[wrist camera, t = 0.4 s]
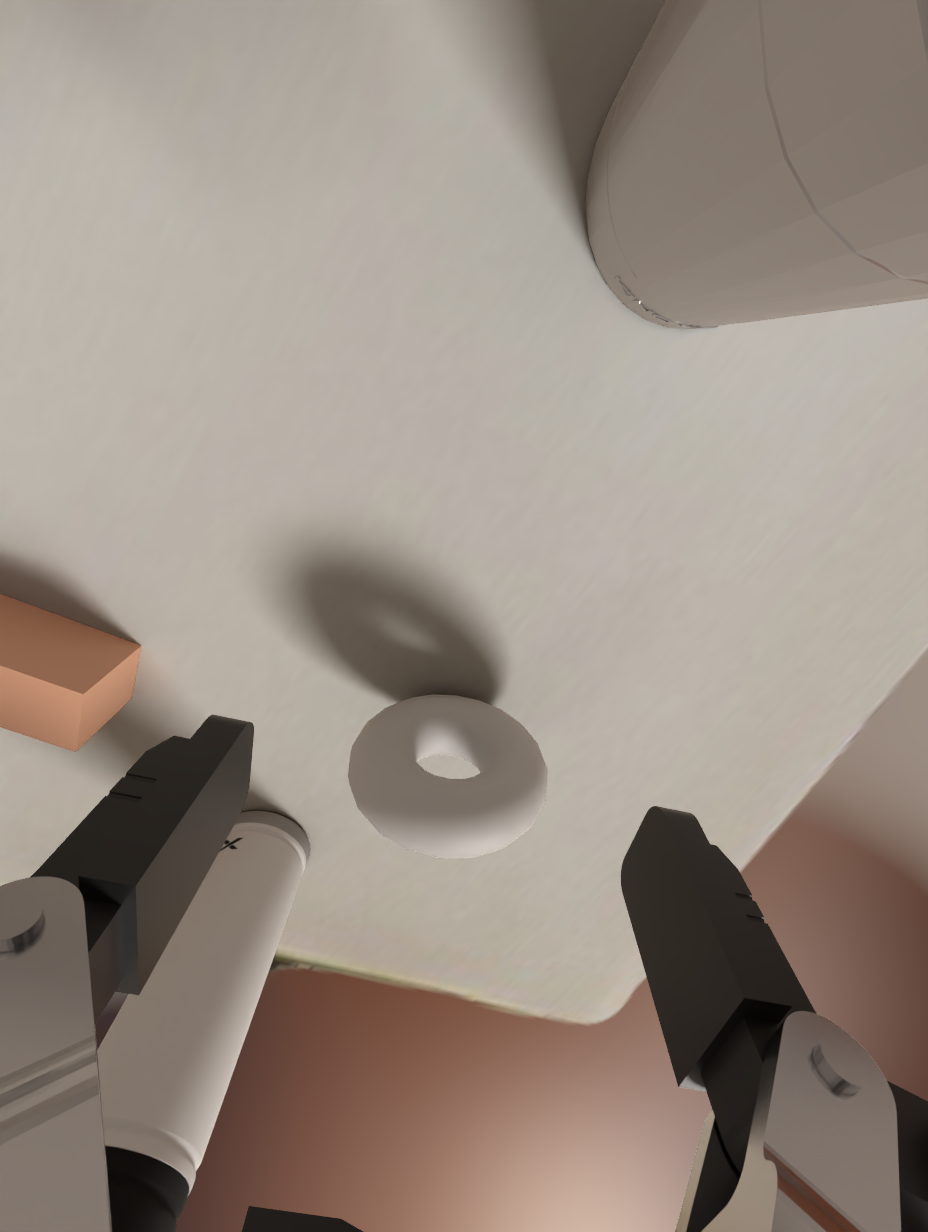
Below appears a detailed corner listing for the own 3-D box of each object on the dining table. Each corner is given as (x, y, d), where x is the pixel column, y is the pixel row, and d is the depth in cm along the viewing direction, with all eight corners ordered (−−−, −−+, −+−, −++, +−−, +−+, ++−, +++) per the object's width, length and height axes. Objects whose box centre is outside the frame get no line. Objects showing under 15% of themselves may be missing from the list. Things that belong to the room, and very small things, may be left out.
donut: (543, 693, 30) (568, 836, 21) (532, 739, 32) (551, 891, 23) (371, 670, 30) (323, 805, 21) (368, 718, 31) (322, 863, 22)
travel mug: (223, 796, 35) (-57, 1266, 17) (319, 822, 35) (150, 1298, 18) (212, 856, 37) (-40, 1316, 19) (302, 879, 38) (139, 1342, 20)
